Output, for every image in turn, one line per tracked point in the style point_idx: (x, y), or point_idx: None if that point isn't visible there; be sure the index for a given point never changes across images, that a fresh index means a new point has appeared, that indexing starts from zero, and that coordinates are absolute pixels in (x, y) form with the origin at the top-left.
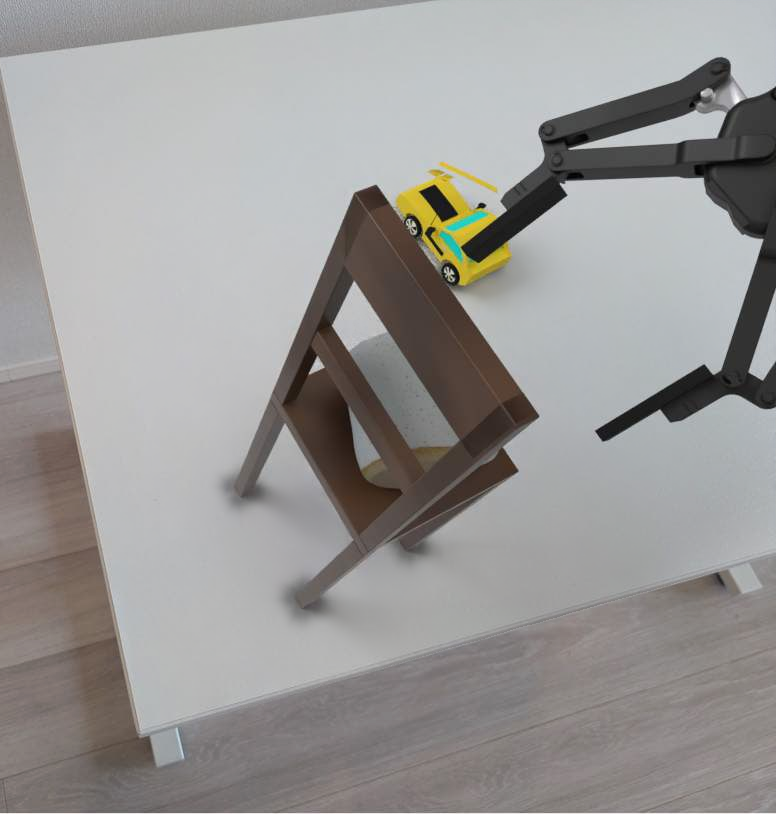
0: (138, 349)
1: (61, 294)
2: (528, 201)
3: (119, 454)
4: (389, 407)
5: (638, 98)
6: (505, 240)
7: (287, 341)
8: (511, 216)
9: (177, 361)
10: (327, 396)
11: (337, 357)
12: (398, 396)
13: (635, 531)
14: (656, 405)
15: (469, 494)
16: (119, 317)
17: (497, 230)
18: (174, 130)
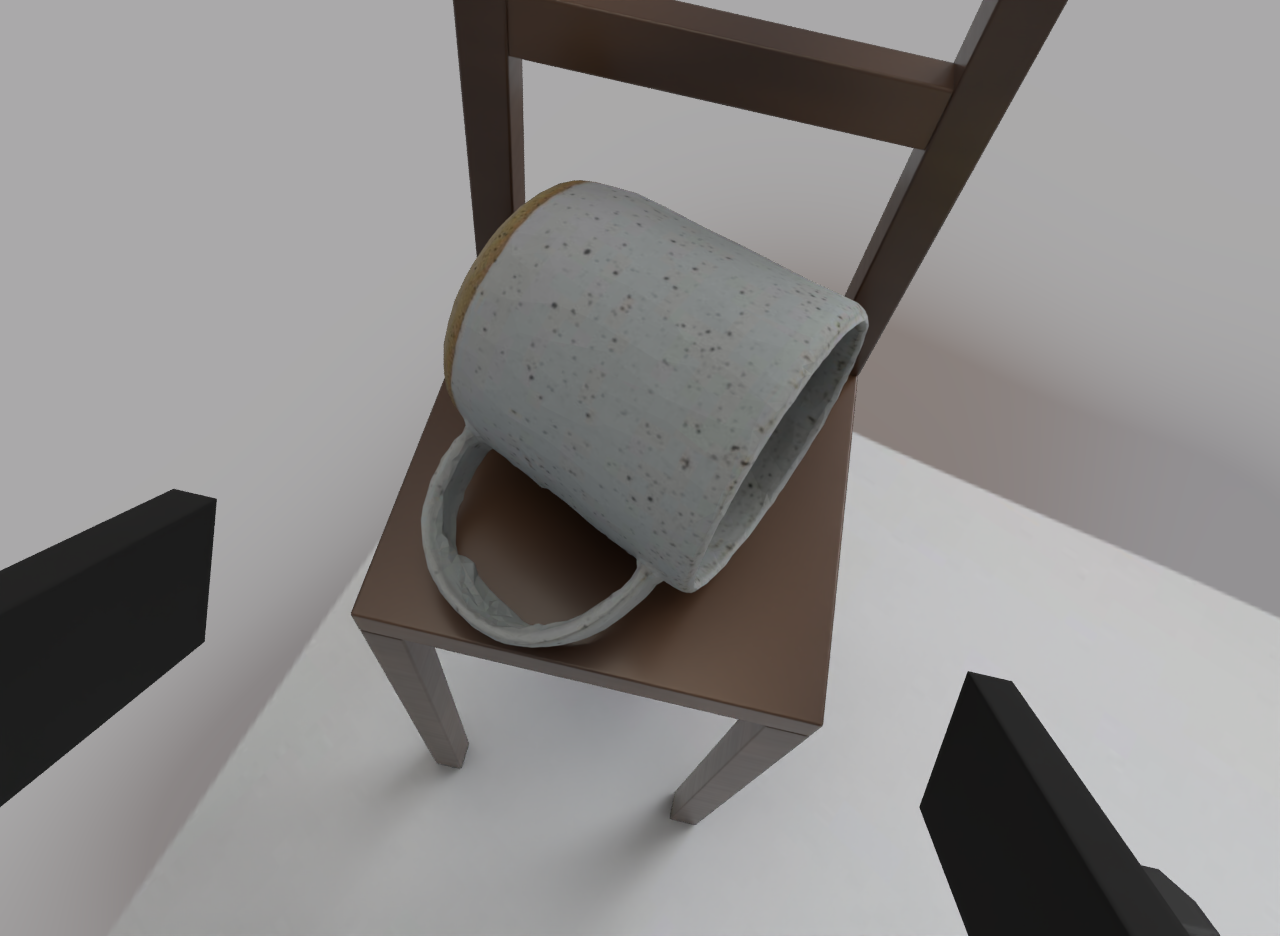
0: (1032, 619)
1: (1180, 585)
2: (1120, 877)
3: (877, 484)
4: (691, 221)
5: None
6: (963, 877)
7: (926, 872)
8: (1068, 806)
9: (982, 658)
10: None
11: (869, 50)
12: (700, 231)
13: None
14: (32, 564)
15: (412, 477)
16: (1104, 633)
17: (1025, 752)
18: None
